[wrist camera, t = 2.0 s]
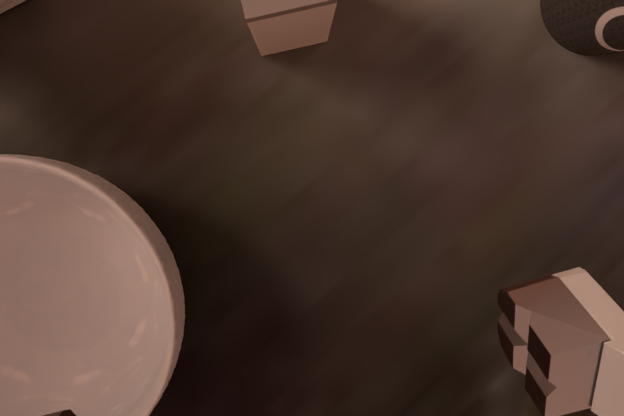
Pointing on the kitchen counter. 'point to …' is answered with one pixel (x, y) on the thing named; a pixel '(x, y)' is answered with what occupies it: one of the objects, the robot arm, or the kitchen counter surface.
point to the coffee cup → (586, 24)
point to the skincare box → (8, 4)
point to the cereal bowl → (82, 295)
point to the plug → (288, 23)
